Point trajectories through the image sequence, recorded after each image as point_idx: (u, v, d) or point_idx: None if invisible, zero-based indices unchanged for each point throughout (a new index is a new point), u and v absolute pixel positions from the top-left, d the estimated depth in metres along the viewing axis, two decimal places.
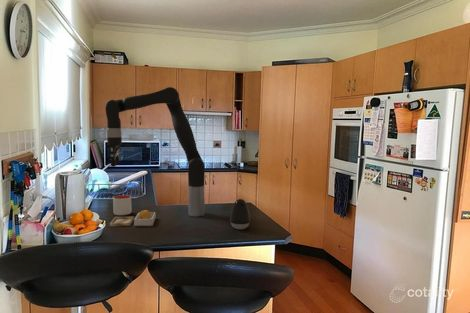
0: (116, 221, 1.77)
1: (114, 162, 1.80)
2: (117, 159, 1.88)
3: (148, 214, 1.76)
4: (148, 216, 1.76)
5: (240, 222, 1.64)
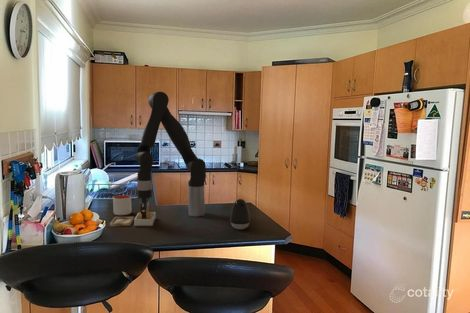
0: (116, 221, 1.77)
1: (145, 217, 1.74)
2: None
3: (148, 214, 1.76)
4: (148, 216, 1.76)
5: (240, 222, 1.64)
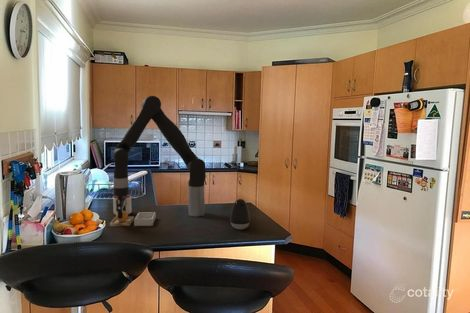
0: (116, 221, 1.77)
1: (121, 214, 1.71)
2: (124, 208, 1.80)
3: (125, 215, 1.74)
4: (125, 217, 1.74)
5: (240, 222, 1.64)
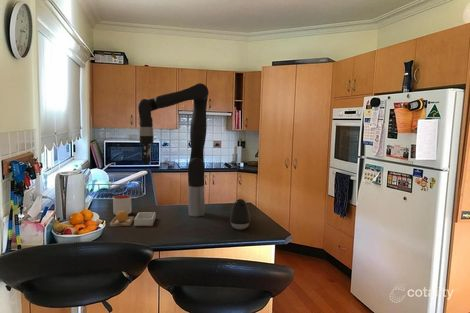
0: (116, 221, 1.77)
1: (147, 160, 1.84)
2: (148, 157, 1.92)
3: (125, 215, 1.74)
4: (125, 217, 1.74)
5: (240, 222, 1.64)
